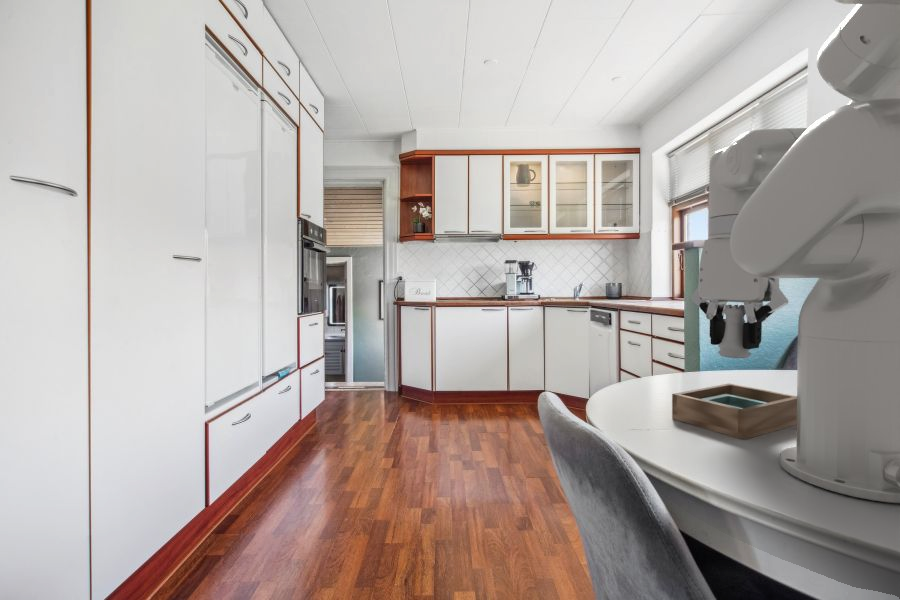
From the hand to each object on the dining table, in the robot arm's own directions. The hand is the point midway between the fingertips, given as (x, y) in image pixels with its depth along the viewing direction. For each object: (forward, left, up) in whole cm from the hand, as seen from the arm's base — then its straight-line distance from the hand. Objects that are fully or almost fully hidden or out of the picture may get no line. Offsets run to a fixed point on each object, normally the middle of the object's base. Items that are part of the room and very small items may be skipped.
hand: (734, 344), depth 69 cm
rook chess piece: (0, 0, -2) cm, 2 cm away
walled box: (0, 0, -12) cm, 12 cm away
